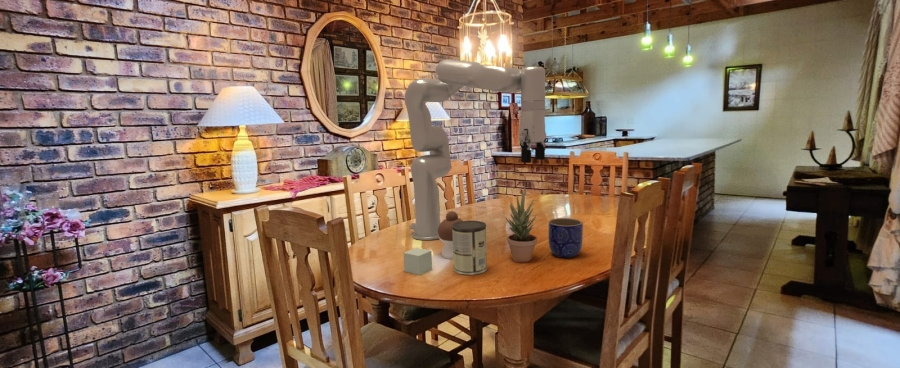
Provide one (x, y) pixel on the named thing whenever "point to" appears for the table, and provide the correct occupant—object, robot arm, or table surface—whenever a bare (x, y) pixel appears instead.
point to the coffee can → (469, 247)
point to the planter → (565, 237)
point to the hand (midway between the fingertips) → (533, 160)
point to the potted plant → (521, 232)
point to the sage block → (417, 261)
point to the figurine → (447, 234)
